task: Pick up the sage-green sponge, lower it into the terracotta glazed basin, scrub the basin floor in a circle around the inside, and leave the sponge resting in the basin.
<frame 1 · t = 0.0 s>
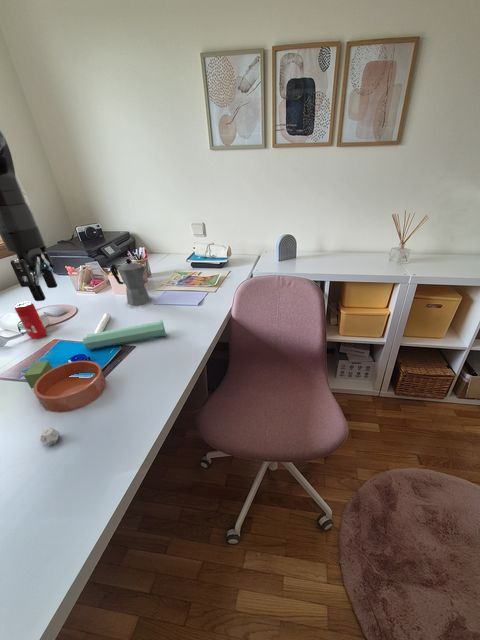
hand: (47, 293, 76), 23 cm above the table, tool pointing down, fingers open, 8 cm apart
coffeepot: (136, 301, 128), on the table
beverage can: (39, 336, 105), on the table
marker: (103, 327, 109), on the table
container: (127, 342, 100), on the table
basin: (75, 391, 80), on the table
sponge: (43, 380, 84), on the table
grey rock: (53, 441, 66), on the table
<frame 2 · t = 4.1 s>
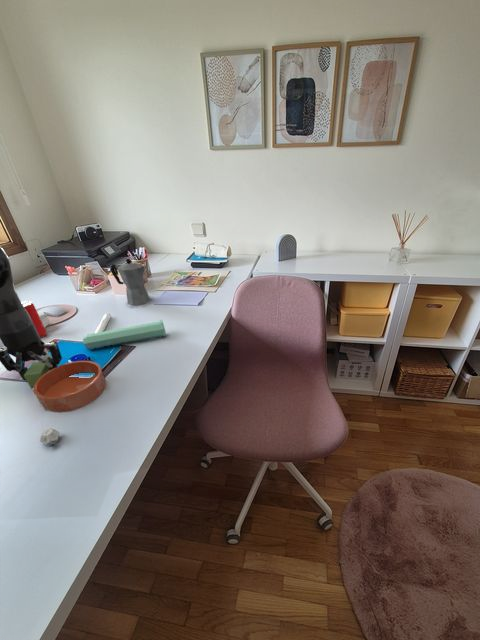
hand: (42, 377, 84), 1 cm above the table, tool pointing down, fingers open, 6 cm apart
nothing on the table moved.
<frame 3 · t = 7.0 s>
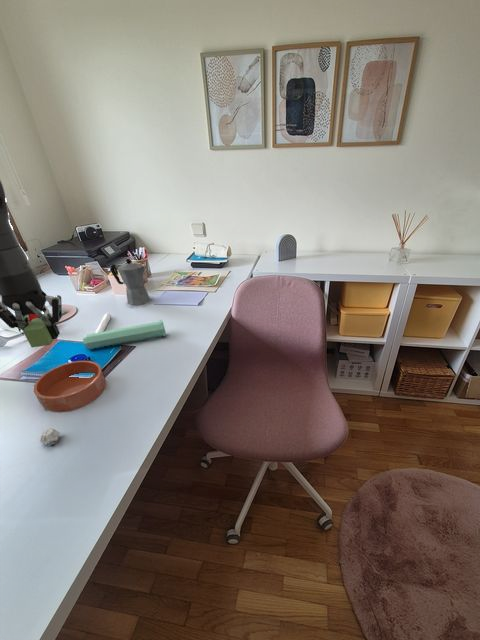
hand: (45, 338, 72), 16 cm above the table, tool pointing down, fingers closed on sponge, 4 cm apart
sponge: (45, 339, 72), point 15 cm above the table, touching gripper
everything else where it was.
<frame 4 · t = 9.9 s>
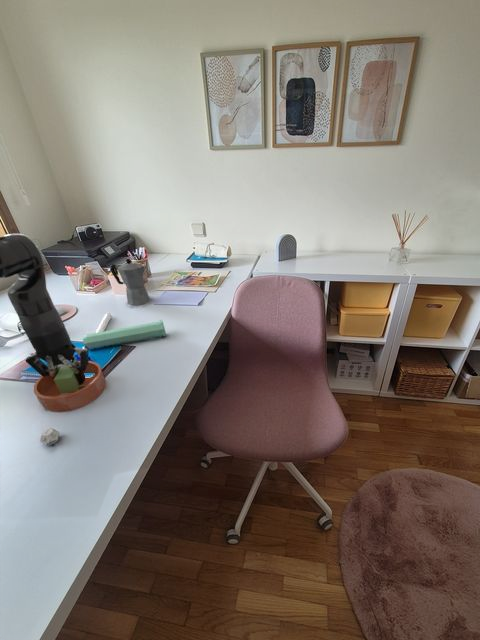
hand: (72, 384, 79), 2 cm above the table, tool pointing down, fingers closed on sponge, 4 cm apart
sponge: (72, 384, 79), point 2 cm above the table, touching gripper
everything else where it was.
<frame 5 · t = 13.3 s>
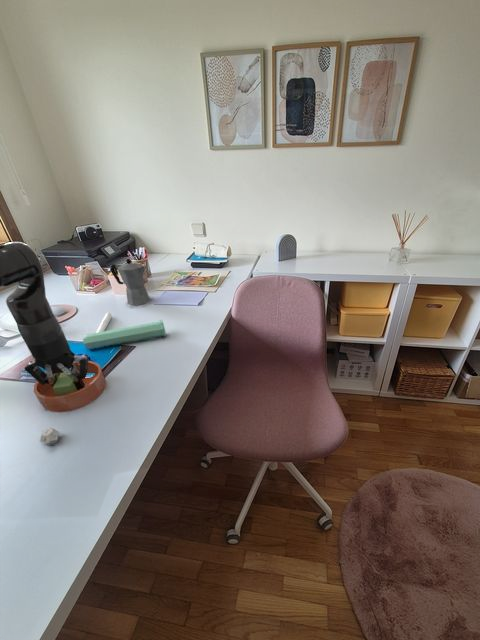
hand: (71, 391, 78), 1 cm above the table, tool pointing down, fingers closed on sponge, 4 cm apart
sponge: (72, 392, 78), point 1 cm above the table, touching gripper
everything else where it was.
when the fingers open (1 cm above the table, at t = 15.5 s): sponge stays where it is, resting on basin.
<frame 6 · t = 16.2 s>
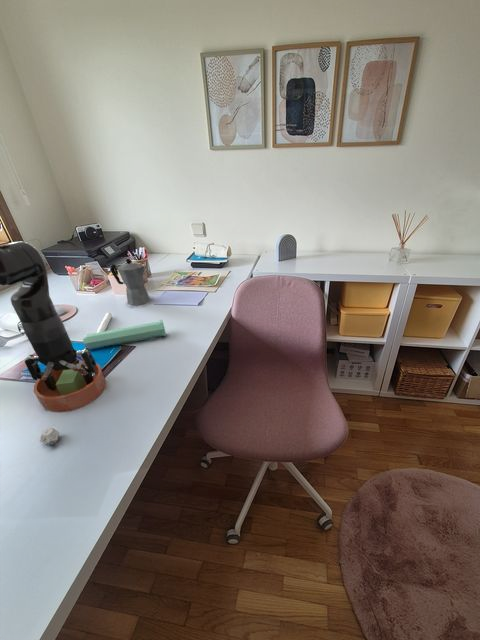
hand: (72, 386, 79), 2 cm above the table, tool pointing down, fingers open, 8 cm apart
sponge: (74, 389, 80), point 1 cm above the table, touching basin
everything else where it was.
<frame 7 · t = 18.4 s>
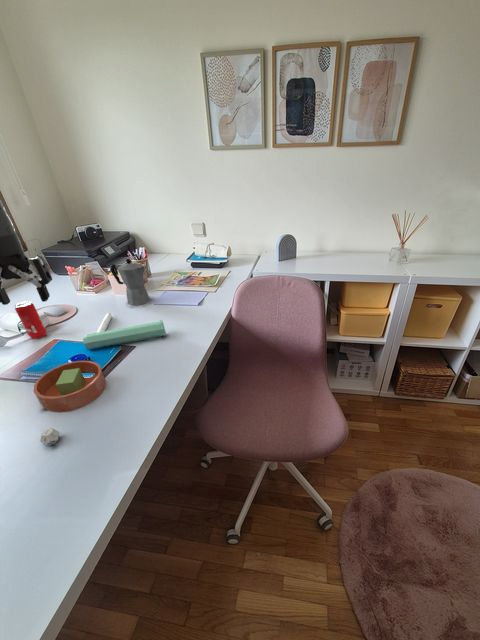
hand: (26, 301, 73), 23 cm above the table, tool pointing down, fingers open, 8 cm apart
nothing on the table moved.
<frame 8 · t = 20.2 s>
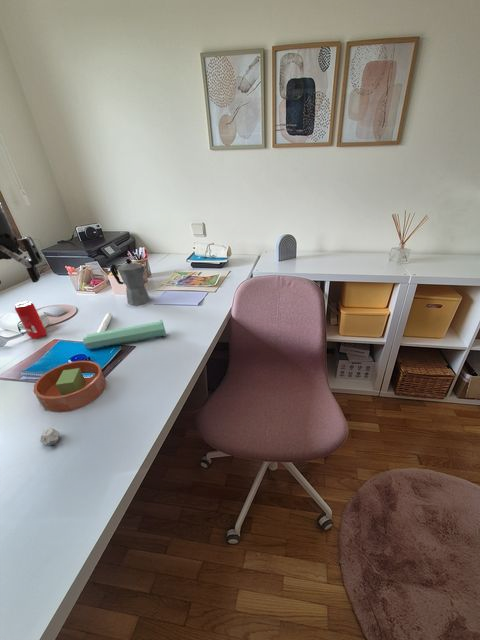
hand: (17, 283, 75), 26 cm above the table, tool pointing down, fingers open, 8 cm apart
nothing on the table moved.
at the end: sponge inside the target area in the basin (0.0 cm from its centre), point 0.6 cm above the basin's base; sponge moved 12.2 cm from its start; the gripper is holding nothing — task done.
